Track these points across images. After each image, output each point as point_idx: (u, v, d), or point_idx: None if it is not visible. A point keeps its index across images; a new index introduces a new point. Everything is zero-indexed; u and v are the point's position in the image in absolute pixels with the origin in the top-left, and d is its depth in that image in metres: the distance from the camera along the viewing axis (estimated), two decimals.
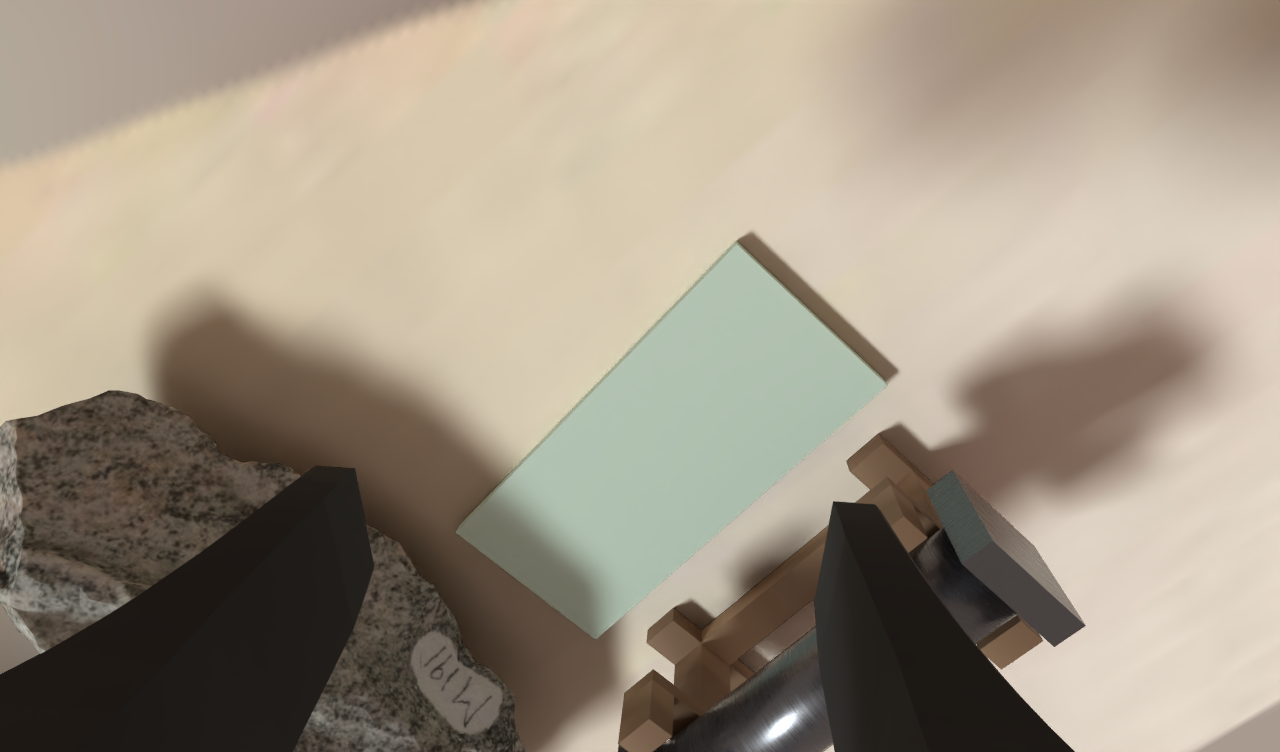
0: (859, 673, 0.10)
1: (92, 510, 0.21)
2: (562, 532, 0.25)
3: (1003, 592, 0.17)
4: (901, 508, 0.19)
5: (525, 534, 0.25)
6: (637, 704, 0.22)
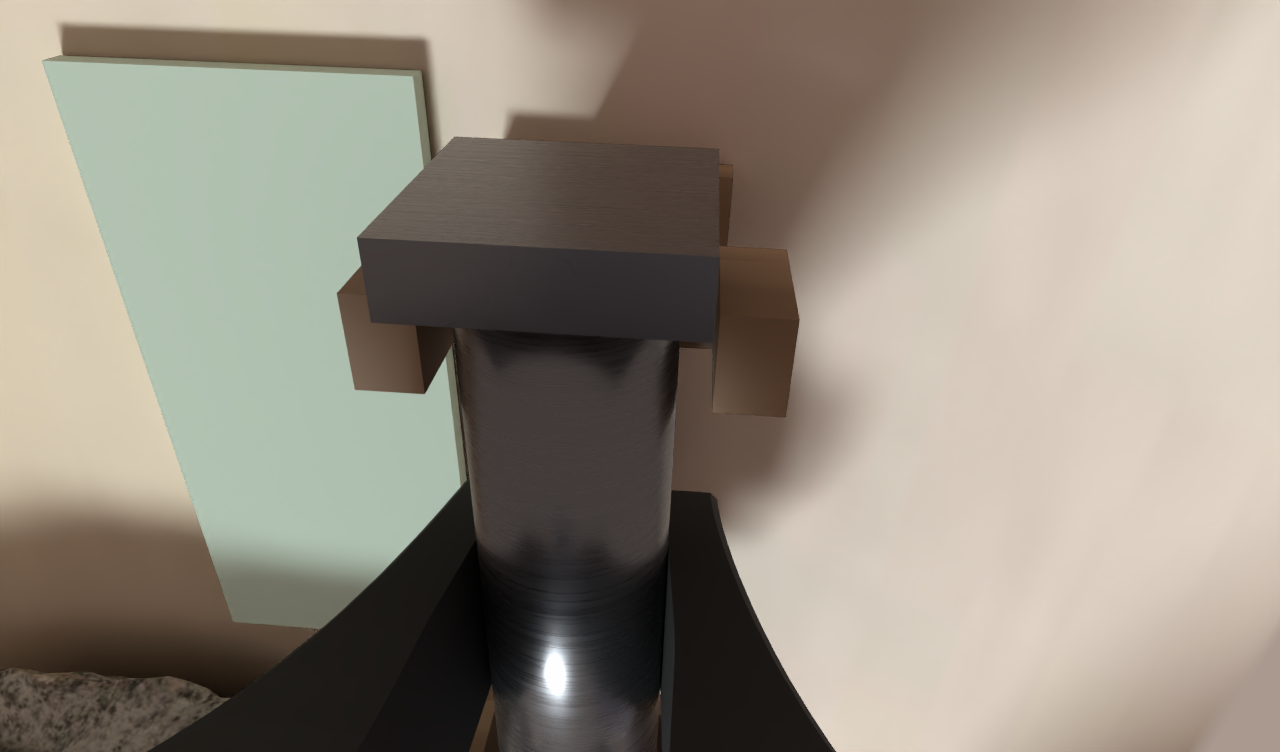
0: (667, 658, 0.10)
1: None
2: (314, 554, 0.17)
3: (496, 316, 0.07)
4: (357, 277, 0.09)
5: (287, 580, 0.18)
6: None
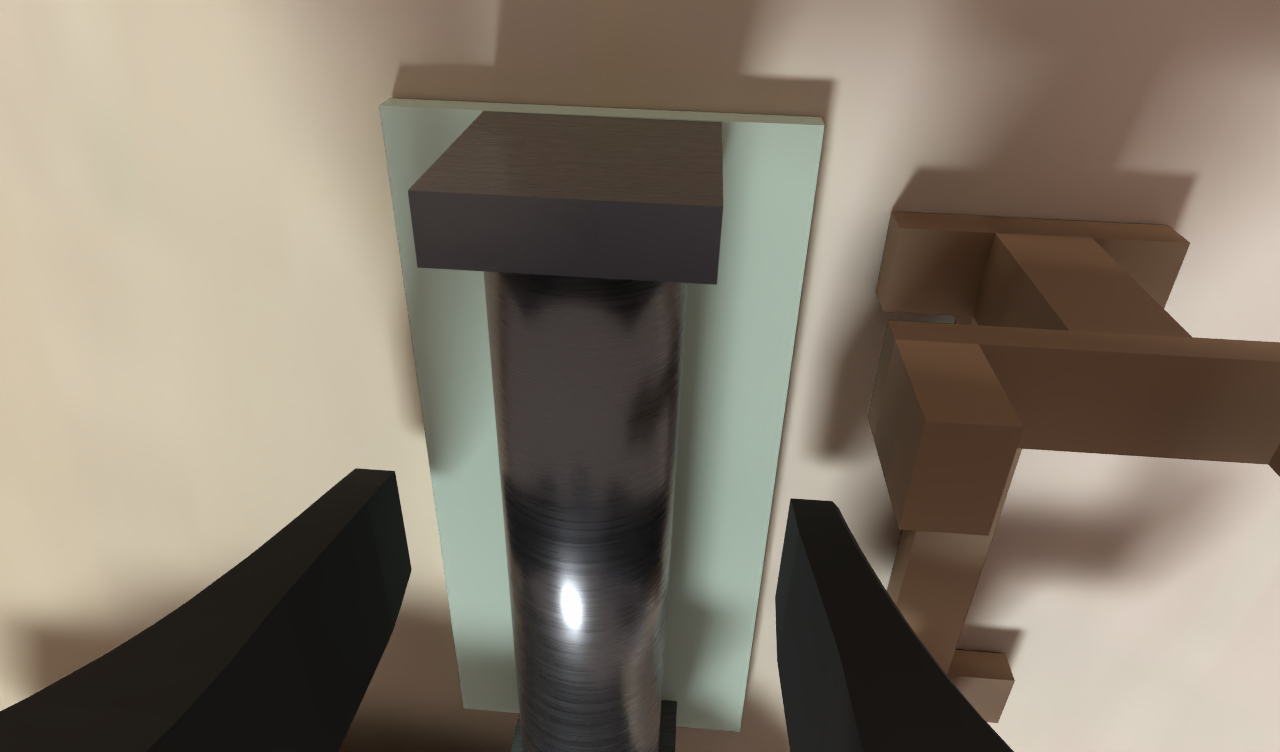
0: (809, 669, 0.10)
1: None
2: None
3: (528, 261, 0.08)
4: (923, 395, 0.07)
5: None
6: None
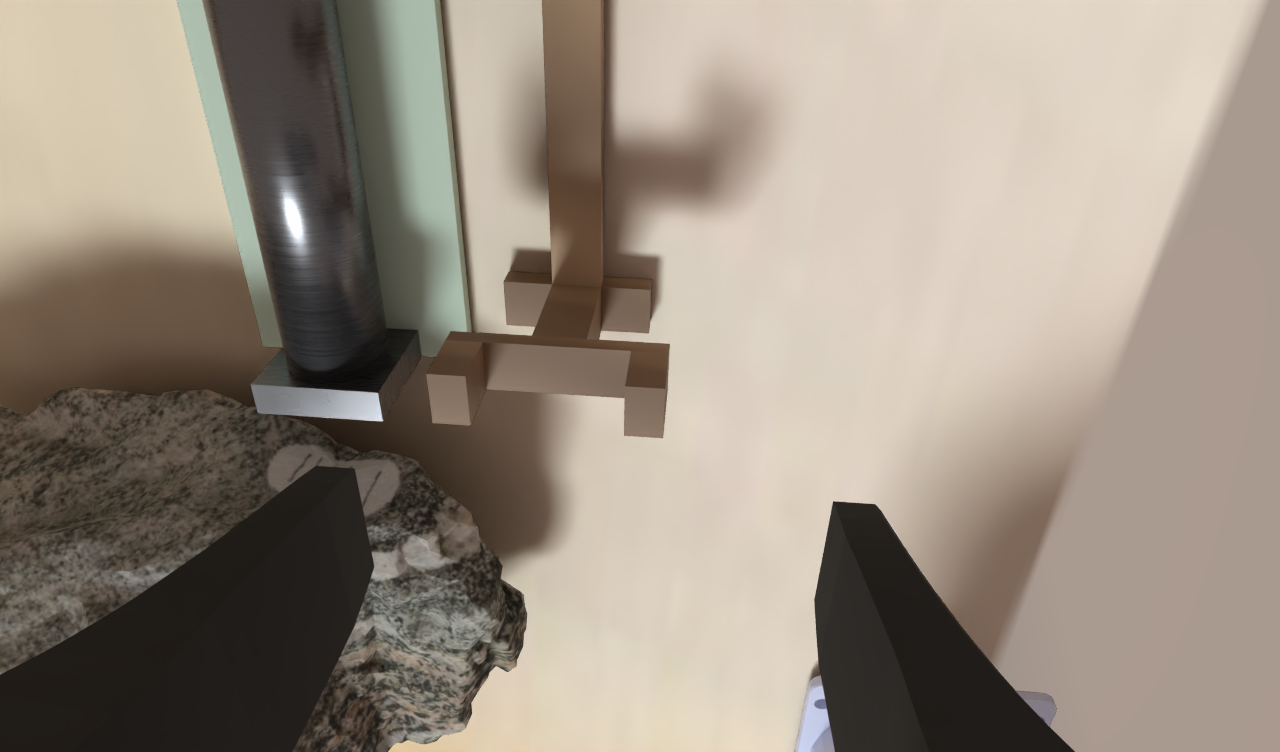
0: (859, 673, 0.10)
1: None
2: None
3: None
4: None
5: None
6: None
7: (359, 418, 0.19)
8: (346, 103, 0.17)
